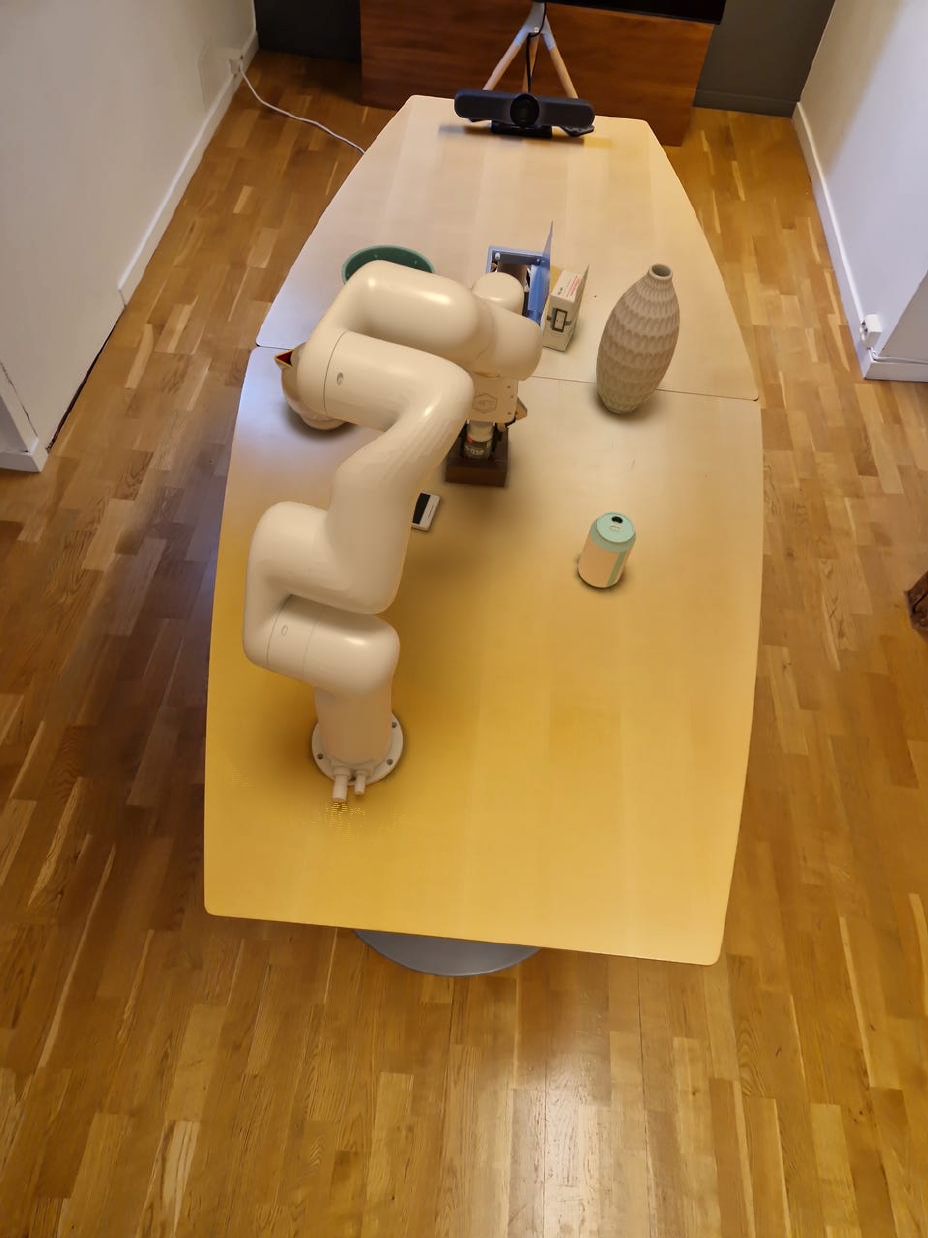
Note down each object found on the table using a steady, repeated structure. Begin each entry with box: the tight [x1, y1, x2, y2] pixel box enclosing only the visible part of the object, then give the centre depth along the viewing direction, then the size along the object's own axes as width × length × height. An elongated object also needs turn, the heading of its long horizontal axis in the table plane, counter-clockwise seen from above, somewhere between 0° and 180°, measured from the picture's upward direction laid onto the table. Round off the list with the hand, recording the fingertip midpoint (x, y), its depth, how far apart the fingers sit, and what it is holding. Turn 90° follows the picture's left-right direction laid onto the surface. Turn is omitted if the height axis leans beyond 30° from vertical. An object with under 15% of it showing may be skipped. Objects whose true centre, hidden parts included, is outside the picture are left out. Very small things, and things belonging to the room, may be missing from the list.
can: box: [577, 511, 637, 588], centre depth 127 cm, size 7×7×12 cm
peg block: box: [444, 422, 510, 488], centre depth 141 cm, size 10×10×4 cm
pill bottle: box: [462, 420, 495, 460], centre depth 137 cm, size 5×5×8 cm
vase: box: [595, 262, 681, 415], centre depth 140 cm, size 13×13×28 cm
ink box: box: [542, 262, 590, 352], centre depth 155 cm, size 8×5×15 cm, turn 160°
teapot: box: [273, 341, 347, 431], centre depth 139 cm, size 18×14×16 cm
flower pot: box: [341, 244, 437, 285], centre depth 149 cm, size 16×16×16 cm
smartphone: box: [411, 490, 441, 532], centre depth 136 cm, size 7×16×1 cm, turn 74°
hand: (478, 439), depth 137 cm, fingers closed on pill bottle, 4 cm apart
